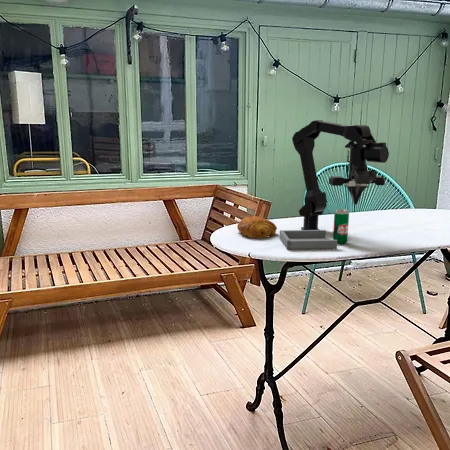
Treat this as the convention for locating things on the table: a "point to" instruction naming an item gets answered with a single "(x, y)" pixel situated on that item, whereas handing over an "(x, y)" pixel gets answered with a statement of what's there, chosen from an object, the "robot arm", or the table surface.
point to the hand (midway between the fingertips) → (355, 204)
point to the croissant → (256, 227)
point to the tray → (306, 240)
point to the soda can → (341, 226)
